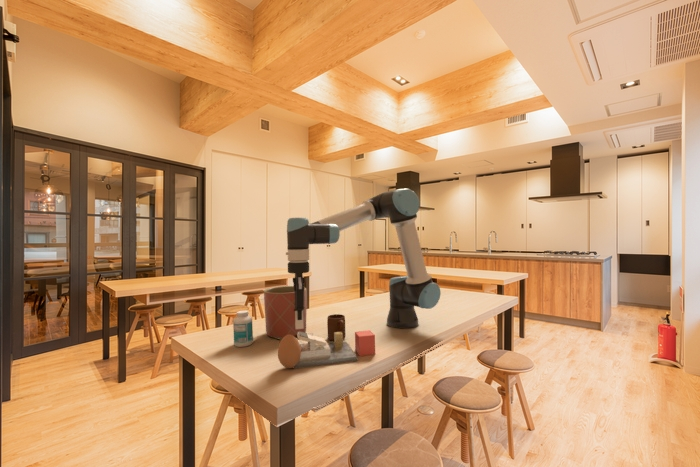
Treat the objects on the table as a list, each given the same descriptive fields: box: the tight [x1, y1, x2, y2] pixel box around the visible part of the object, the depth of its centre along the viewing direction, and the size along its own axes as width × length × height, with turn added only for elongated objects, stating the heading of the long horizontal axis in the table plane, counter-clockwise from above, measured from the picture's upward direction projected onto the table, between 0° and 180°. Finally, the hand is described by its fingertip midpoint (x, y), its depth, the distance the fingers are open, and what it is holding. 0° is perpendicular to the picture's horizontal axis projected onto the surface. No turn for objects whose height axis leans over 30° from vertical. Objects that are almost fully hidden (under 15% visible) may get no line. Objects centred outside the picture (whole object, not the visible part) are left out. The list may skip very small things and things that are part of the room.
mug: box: [326, 313, 346, 342], centre depth 133 cm, size 12×8×9 cm, turn 23°
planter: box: [263, 285, 308, 341], centre depth 144 cm, size 19×19×20 cm
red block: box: [354, 329, 376, 357], centre depth 119 cm, size 6×6×7 cm
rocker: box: [296, 331, 326, 346], centre depth 113 cm, size 10×6×1 cm, turn 104°
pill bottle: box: [232, 309, 254, 348], centre depth 130 cm, size 8×7×14 cm
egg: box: [277, 334, 301, 369], centre depth 106 cm, size 8×8×11 cm
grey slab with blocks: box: [292, 332, 358, 369], centre depth 116 cm, size 22×16×8 cm
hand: (299, 328), depth 112 cm, fingers closed
